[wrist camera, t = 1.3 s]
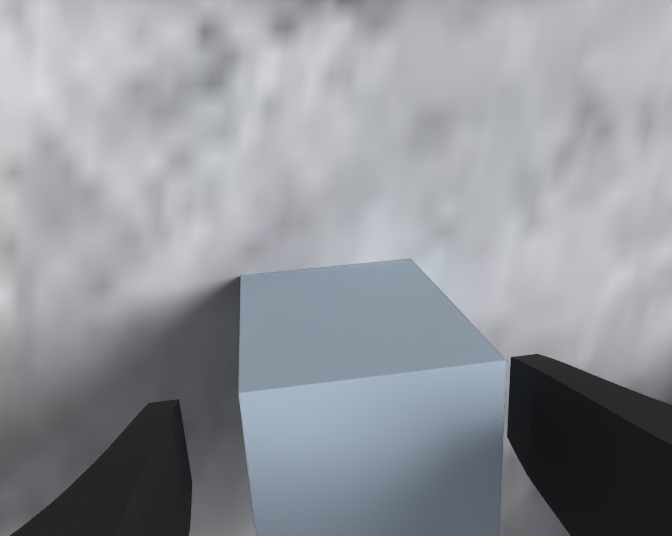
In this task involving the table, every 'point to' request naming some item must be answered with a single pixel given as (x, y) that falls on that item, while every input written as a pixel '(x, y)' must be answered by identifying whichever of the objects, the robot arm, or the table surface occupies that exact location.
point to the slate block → (367, 405)
